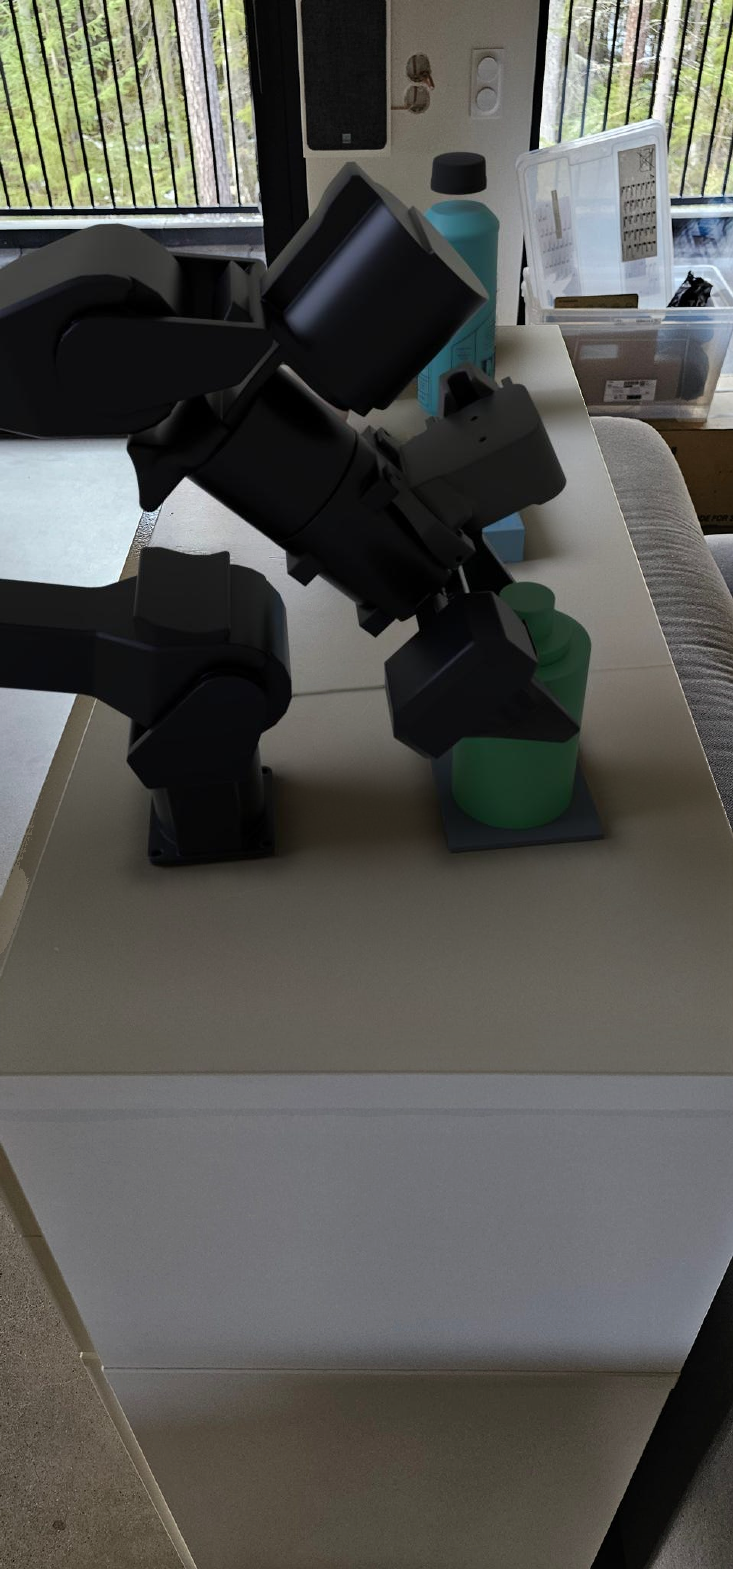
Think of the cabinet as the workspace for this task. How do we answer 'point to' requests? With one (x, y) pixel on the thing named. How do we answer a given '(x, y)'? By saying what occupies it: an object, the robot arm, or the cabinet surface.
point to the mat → (476, 835)
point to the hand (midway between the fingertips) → (550, 674)
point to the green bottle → (522, 773)
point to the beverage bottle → (477, 245)
